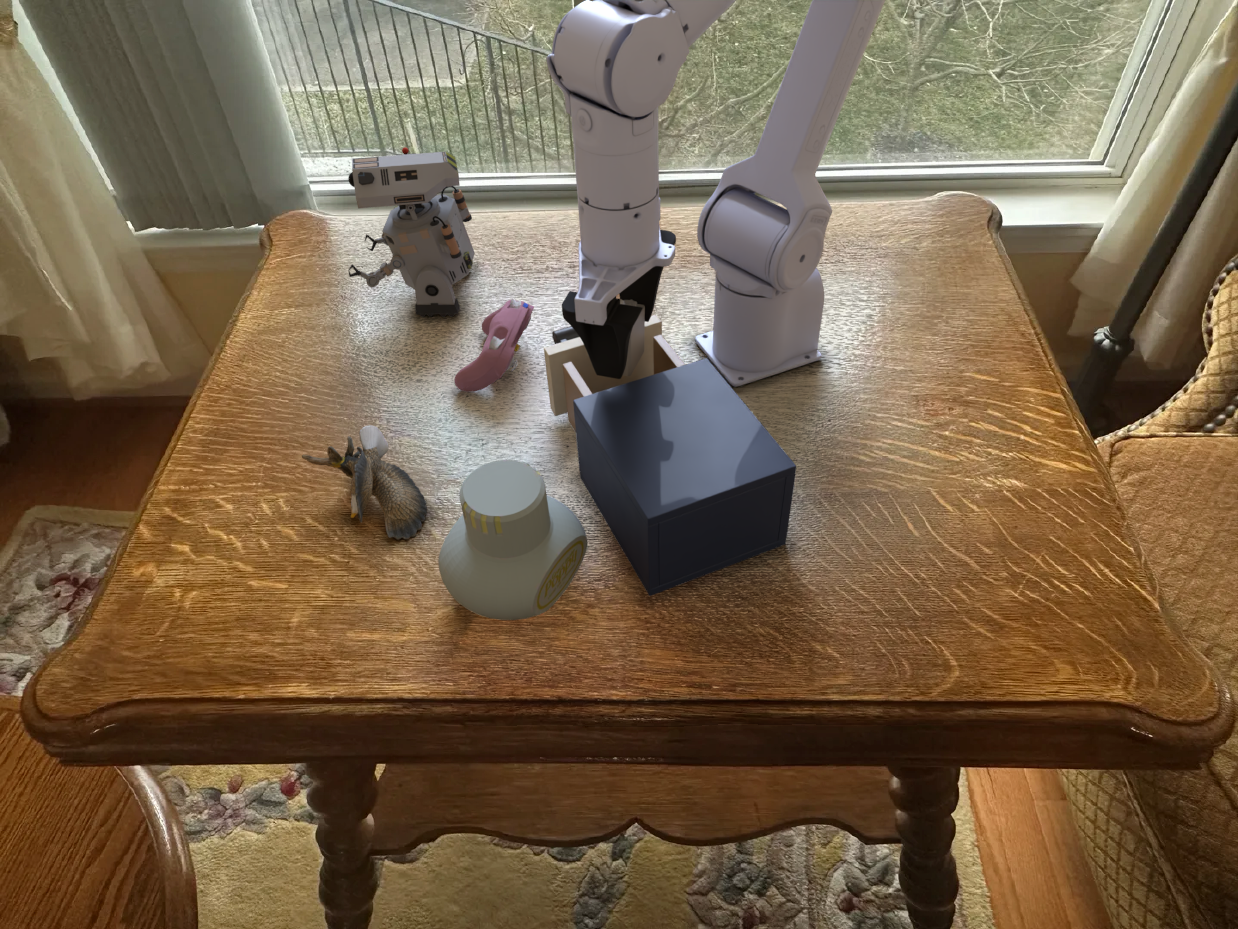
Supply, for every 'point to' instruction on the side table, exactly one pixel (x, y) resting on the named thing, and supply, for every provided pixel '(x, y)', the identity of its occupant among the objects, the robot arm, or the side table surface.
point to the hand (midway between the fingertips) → (624, 345)
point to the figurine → (418, 224)
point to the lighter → (635, 339)
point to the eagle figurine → (378, 483)
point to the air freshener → (510, 544)
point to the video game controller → (496, 346)
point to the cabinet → (683, 474)
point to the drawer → (577, 375)
